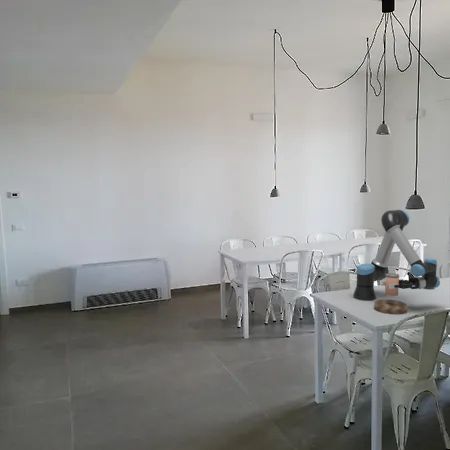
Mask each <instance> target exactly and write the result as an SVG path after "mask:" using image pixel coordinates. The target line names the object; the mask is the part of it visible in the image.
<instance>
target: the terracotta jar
mask: <svg viewBox="0 0 450 450" xmlns="http://www.w3.org/2000/svg"><path fill="white" fill-rule="evenodd" d="M399 280H400V274H398V273H395V272H394V273H392V272H390V273H387V274H386V278H385V281H386V282H385V285H384V287H385V288H384V294H385V295H386V296H390V297H397V296H399V288H392V289H389V284H399Z"/></svg>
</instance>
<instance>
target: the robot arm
mask: <svg viewBox="0 0 450 450" xmlns="http://www.w3.org/2000/svg"><path fill="white" fill-rule="evenodd" d="M380 220H381V225H382V228H383V229H384V231H385V233H384V235H383V238H382V240H381V243H380V245H379V248H378V251H377V254H376V256H375V258H374V259H372V261H371V262H370V263H361V264H359V265H358V266H357V269H356V287H355V289H354V292H353V298H354V299H356V300H360V301H376V298H377V294H376V291H375V287H374V286H375V282H376V281H377V282H378V281H381V282H380V285H381V286H385V282H386V280H384V279H386V274H387V273H389V271H390V270H389V264H388V263H389V259H390V257H391V254H392V252H393V249H394V247H395V244H396V246H397V248H398V249H399V250H400V252H401V254H402V255H403V256H404V258H405V260H406V261H407V263H408V265H409V266H410V269H411V271H410V272H411V273H412V274H411V273H410V274H411V275H413V277H409V279H401V278H400V279H399V284H389V289H392V288H398V289H402V290H405V289H411V290H422V289H435V288H438V287H440V286H441V285H440V284H441V281H440V278H439V277H438V276H437V267H438V261H437V259H436V258H432V257H429V258H428V257H426V258H424V261H423V260H422V259H421V257H420V256H419V254H418V253H417V252H416V251H415V249H414V247H413V246H412V244H411V243H410V241H409V240H408V239H407V237H406V235H405V234H404V232H403V230H404V228H405V227H406V226H407V225H408V224H409V223H410V216H409V214H408V213H407V211H406V210H402V209H395V210H394V209H392V210H386V211H385V212H384V213H383V214H382V216H381V219H380ZM423 275H424V277H422V276H423ZM417 276H419V277H417Z"/></svg>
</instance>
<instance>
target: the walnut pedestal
mask: <svg viewBox="0 0 450 450" xmlns="http://www.w3.org/2000/svg"><path fill="white" fill-rule="evenodd" d="M373 303H374V304H373V309H374V310H375V311H377V312H379V313H382V314H387V313H388V315H403V314H407V312H408V304H407V303H406V302H404V301H401V300H395V299H388V298H387V299H377V300H376V299H375V300H374V302H373Z"/></svg>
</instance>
